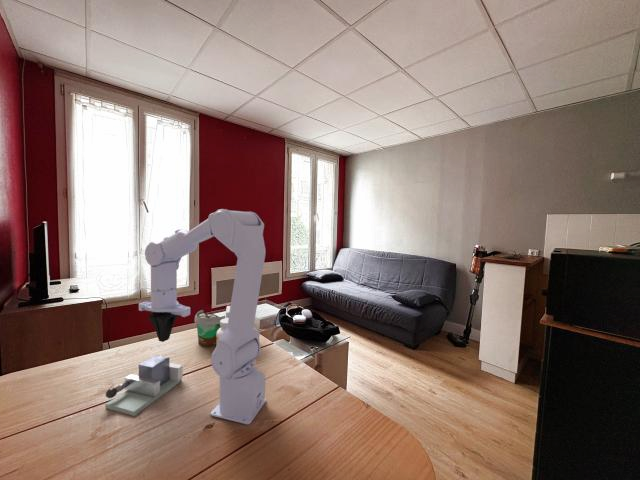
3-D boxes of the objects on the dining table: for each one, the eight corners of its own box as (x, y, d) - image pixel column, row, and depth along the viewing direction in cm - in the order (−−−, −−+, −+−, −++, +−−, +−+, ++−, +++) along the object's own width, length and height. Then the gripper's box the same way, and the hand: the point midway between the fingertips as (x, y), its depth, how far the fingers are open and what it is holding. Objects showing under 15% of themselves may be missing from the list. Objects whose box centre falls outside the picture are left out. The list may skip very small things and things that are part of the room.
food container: (186, 343, 88) (186, 314, 88) (202, 336, 94) (202, 309, 93) (210, 352, 82) (211, 321, 82) (226, 344, 88) (226, 315, 87)
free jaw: (160, 392, 60) (159, 380, 60) (134, 410, 54) (134, 397, 54) (130, 385, 63) (130, 374, 62) (103, 402, 57) (103, 389, 56)
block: (152, 391, 61) (152, 367, 61) (138, 388, 62) (138, 364, 62) (169, 379, 66) (169, 357, 65) (156, 377, 67) (156, 354, 66)
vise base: (182, 381, 67) (182, 365, 67) (135, 416, 55) (135, 397, 54) (155, 375, 69) (155, 360, 69) (104, 408, 57) (104, 389, 56)
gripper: (198, 287, 69) (198, 337, 69) (154, 282, 72) (155, 330, 73) (178, 294, 62) (178, 349, 63) (130, 288, 65) (131, 340, 66)
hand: (164, 339), depth 67 cm, fingers closed
